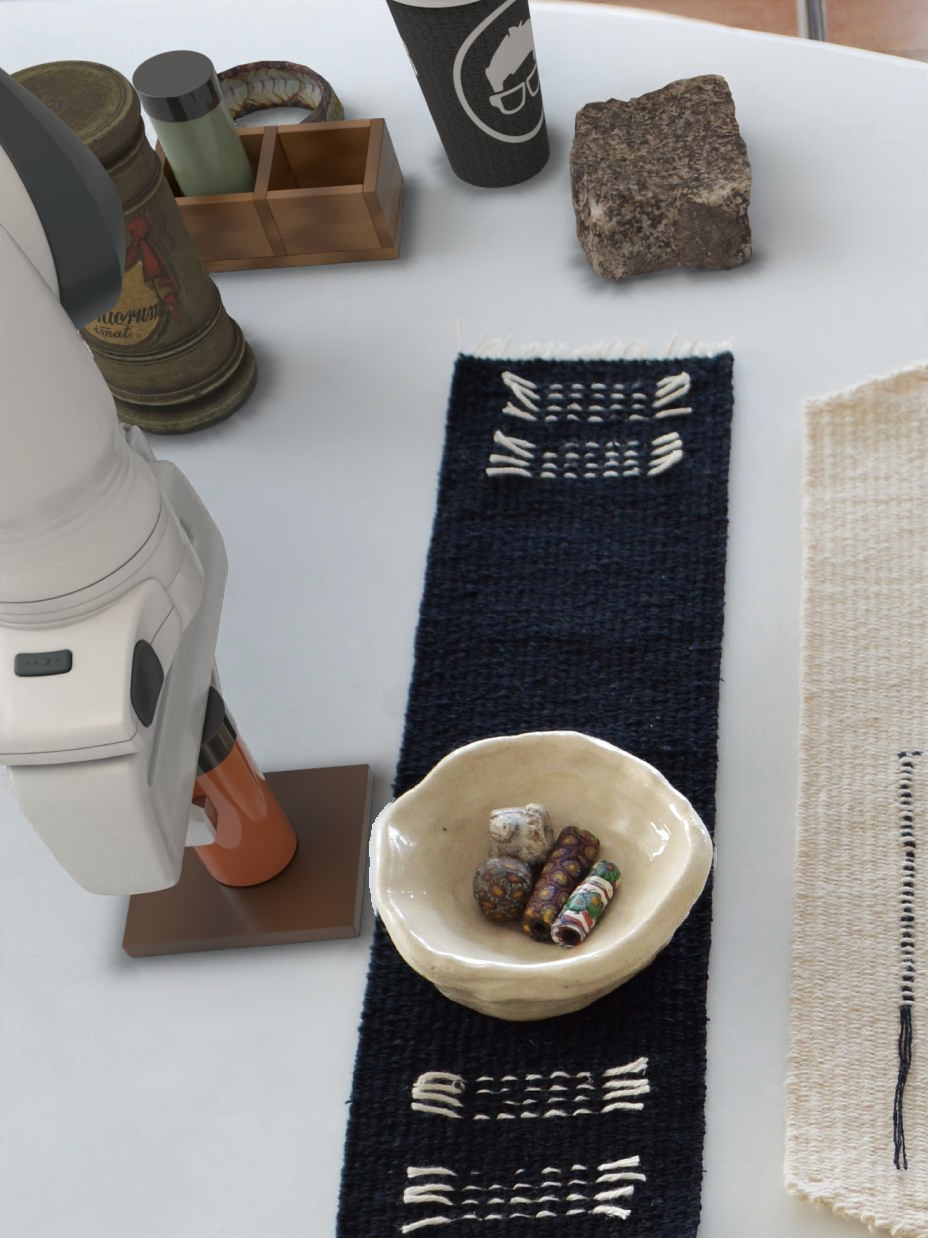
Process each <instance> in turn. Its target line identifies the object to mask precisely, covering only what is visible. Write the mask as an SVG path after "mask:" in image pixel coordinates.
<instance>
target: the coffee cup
mask: <svg viewBox="0 0 928 1238" xmlns="http://www.w3.org/2000/svg"><path fill="white" fill-rule="evenodd" d="M385 2H386V4H387V7H388V9H389V12H390V15H391V17H392V19H393V22H394V24H395V27H396V30H397V33H398V34H399V37H400V39H401V42H402V45H403V48H404V50H405V52H406V54H407V57H408V60H409V62H410V65H411V69H412V70H413V72H414V75H415V77H416V80H417V82H418V85H419V89H421V93H422V96H423V98H424V101H425V102H426V106H427V108H428V110H429V114H430V116H431V118H432V121H433V124H434V126H435V128H436V131H437V133H438V134H437V135H438V137H439V139H440V141H441V144H442V146H443V149H444V152H445V154H446V157H447V160H448V162H449V164H450V167H451V169H452V171H453V173H454V174H455V175H456V176H457V177H458V179H460V180H462V181H464V182H466V183H468V184H470V185H473V186H477V187H481V188H482V187H483V188H502V187H509V186H513V185H517V184H521V183H523V182H525V181H528V180H530V179H532V177H534V176H536V175H537V174H539V172H541V171H542V170H543V169H544V167H545V166H546V165H547V163H548V161H549V159H550V156H551V155H550V154H551V153H550V152H551V150H550V141H549V135H548V128H547V122H546V114H545V107H544V101H543V100H544V99H543V95H542V88H541V80H540V74H539V68H538V67H539V66H538V60H537V54H536V53H537V52H536V47H535V46H536V45H535V39H534V33H533V26H532V17H531V12H530V5H529V0H385Z"/></svg>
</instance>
